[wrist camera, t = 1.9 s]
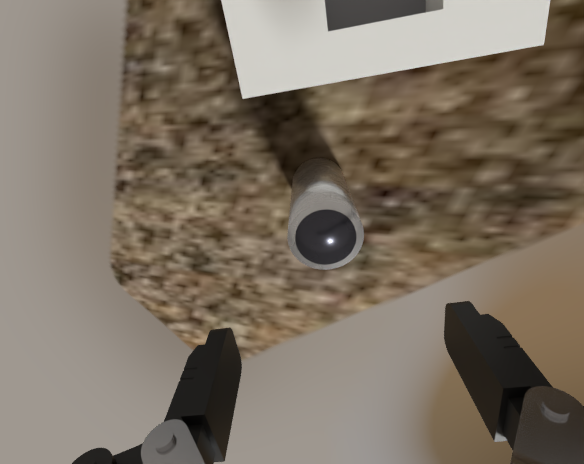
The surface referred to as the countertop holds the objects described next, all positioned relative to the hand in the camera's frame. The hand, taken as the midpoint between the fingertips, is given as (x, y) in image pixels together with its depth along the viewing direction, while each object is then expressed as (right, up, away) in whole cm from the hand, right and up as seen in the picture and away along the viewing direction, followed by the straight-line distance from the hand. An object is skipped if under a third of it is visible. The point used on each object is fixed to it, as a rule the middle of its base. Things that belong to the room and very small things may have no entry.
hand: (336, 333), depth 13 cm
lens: (+1, +8, +16) cm, 18 cm away
